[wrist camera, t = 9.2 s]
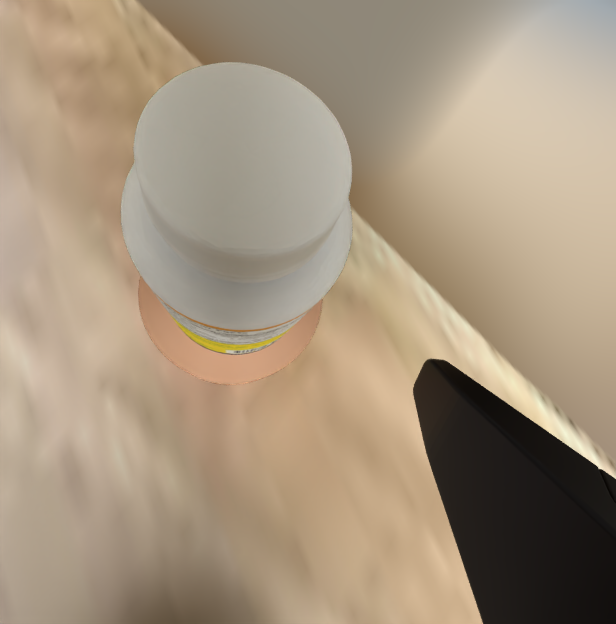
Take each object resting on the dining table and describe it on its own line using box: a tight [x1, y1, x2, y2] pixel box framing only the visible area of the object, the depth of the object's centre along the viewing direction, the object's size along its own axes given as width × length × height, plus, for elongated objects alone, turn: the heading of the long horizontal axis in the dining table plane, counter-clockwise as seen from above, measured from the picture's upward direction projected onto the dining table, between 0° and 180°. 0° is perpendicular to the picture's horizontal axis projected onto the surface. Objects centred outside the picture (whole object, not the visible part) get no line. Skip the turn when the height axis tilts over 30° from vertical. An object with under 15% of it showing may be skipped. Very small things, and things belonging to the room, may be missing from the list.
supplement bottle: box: [121, 62, 352, 355], centre depth 12 cm, size 6×6×10 cm
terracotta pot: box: [138, 276, 322, 385], centre depth 18 cm, size 8×8×4 cm
